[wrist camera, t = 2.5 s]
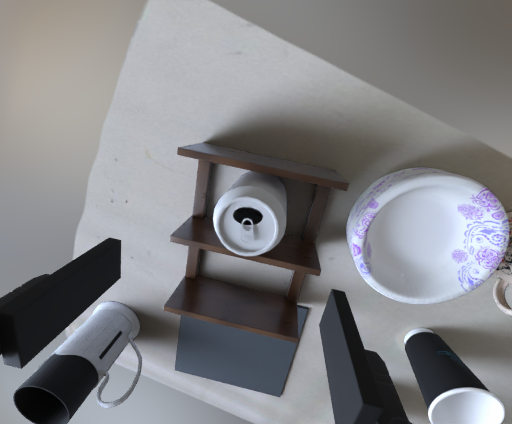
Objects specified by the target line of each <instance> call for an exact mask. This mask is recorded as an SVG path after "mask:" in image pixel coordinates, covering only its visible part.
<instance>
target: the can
mask: <svg viewBox="0 0 512 424" xmlns="http://www.w3.org/2000/svg"><path fill="white" fill-rule="evenodd" d="M286 218H287V195H286V190H285V187H284V185H283V183H282V182H281V181H280V180H279V178H278V177H277V176H274V175H269V174H265V173H260V172H255V171H250V172H248V173H246V174H244V175H242V176H241V177H240V178H239V179H238V180H237V181H236V182H235V183H234V184H233V185H232V186H231V188H230V189H229V190H228V191H227V192H226V193H225V194H224V195H223V196H222V197H221V198H220V199H219V201H218V203H217V205H216V207H215V209H214V216H213V222H214V228H215V231H216V233H217V235H218V237H219V239H220V241H221V243H222V244H223V245H224V246H225V247H226V248H227V249H228V250H230V251H232V252H234V253H236V254H238V255H243V256H257V255H260V254H262V253H265V252H268V251H270V250H271V249H272V248H274V247H275V246H276V245H277V244H278V243H279V242H280V240H281V239H282V237H283V236H284V232H285V228H286Z"/></svg>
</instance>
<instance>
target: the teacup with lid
mask: <svg viewBox="0 0 512 424" xmlns="http://www.w3.org/2000/svg"><path fill="white" fill-rule="evenodd" d="M506 214H507V217H508V222H509V242H508V246H507V249H506V252H505V255H504V257H503V259H502V261H501V262H500V264H499V266H498V267H497V269H496V270H495V271H494V272H493V273H494V274H496V275H497V276H499V278H498V279H497V281H496V282H495V284H494V287H493V297H494V300H495V302H496V304H497V306H498V307H499V308H500V309H501V310H502V311H503V312H505V313H506V314H508V315H511V316H512V309H511V308H510V307H509V305H508V304H507V302H506V299H505V290H506V287H507V286H508V284H510V285H511V286H512V212H509V213H506Z"/></svg>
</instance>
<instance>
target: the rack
mask: <svg viewBox="0 0 512 424" xmlns="http://www.w3.org/2000/svg"><path fill="white" fill-rule="evenodd" d="M177 154H178V155H181V156H185V157H190V158H195V159H199V162H198V171H197V180H196V188H195V197H194V206H193V214H192V216H191V217H190V218H189V219H188V220H187V221H186V222H184V223H183V224H182V225H181V226H180V227H179V228H178V229H177V230H176V231H175V232H174V233H173V234H172V235H170V242H174V243H179V244H183V245H187V246H189V249H188V258H187V266H186V275H185V277H184V278H183V279H182V281H181V282H180V284H179V285H178V287H177V288H176V290H175V291H174V293H173V294H172V295H171V297H170V298H169V300H168V301H167V303H166V304H165V306H164V311H167V312H171V313H175V314H179V315H184V316H188V317H192V318H196V319H200V320H204V321H208V322H212V323H216V324H220V325H224V326H228V327H232V328H236V329H240V330H244V331H248V332H252V333H257V334H261V335H265V336H269V337H273V338H277V339H281V340H285V341H289V342H293V343H298V341H299V328H298V308H297V299H298V296H299V293H300V289H301V286H302V283H303V279H304V276H305V273H308V274H312V275H316V276H320V273H321V268H320V263H319V259H318V255H317V250H316V246H315V239H316V236H317V232H318V229H319V226H320V222H321V219H322V216H323V212H324V209H325V206H326V202H327V199H328V195H329V192H330V189H331V188H335V189H339V190H344V191H347V188H348V185H349V184H348V183H347V182H346V181H345V180H344V179H343V178H342V177H341V176H340V175H339V174H338V173H337V172H336V171H334V170H329V169H325V168H320V167H315V166H310V165H305V164H301V163H296V162H291V161H286V160H282V159H277V158H272V157H267V156H263V155H258V154H253V153H248V152H244V151H239V150H234V149H230V148H225V147H220V146H215V145H211V144H206V143H199V144H194V145H188V146H183V147H178V153H177ZM212 163H218V164H223V165H227V166H232V167H237V168H241V169H246V170H251V171H255V172H260V173H265V174H269V175H274V176H279V177H283V178H288V179H293V180H297V181H302V182H307V183H311V184H316V185H317V187H316V191H315V194H314V198H313V202H312V205H311V209H310V212H309V216H308V220H307V223H306V227H305V230H304V234H303V237H302V238H298V237H294V236H289V235H285V234H284V236H283V237H282V239H281V240H280V242H279V243H278V244H277V245H276V246H275V247H274V248H272V249H271V250H270V251H268V252H265V253H262V254H260V255H257V256H243V255H238V254H236V253H234V252H232V251H230V250H228V249H227V248H226V247H225V246H224V245H223V244H222V243H221V241H220V239H219V237H218V235H217V233H216V231H215V228H214V222H213V218H209V217H205V215H206V208H207V200H208V193H209V185H210V178H211V170H212ZM201 249H204V250H209V251H213V252H217V253H222V254H226V255H230V256H235V257H239V258H243V259H248V260H252V261H256V262H260V263H265V264H269V265H273V266H278V267H282V268H286V269H291V270H293V273H292V277H291V280H290V284H289V288H288V291H287V295H286V297H284V296H280V295H276V294H272V293H267V292H263V291H259V290H255V289H251V288H246V287H242V286H238V285H234V284H230V283H225V282H221V281H217V280H213V279H209V278H204V277H200V276H197V275H198V267H199V260H200V252H201Z"/></svg>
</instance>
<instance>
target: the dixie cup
mask: <svg viewBox="0 0 512 424" xmlns="http://www.w3.org/2000/svg"><path fill="white" fill-rule="evenodd" d="M404 344H405V350H406V353H407V356H408V358H409V361H410V364H411V366H412V369H413V371H414V374H415V377H416V379H417V382H418V385H419V387H420V390H421V392H422V395H423V398H424V400H425V403H426V406H427V408H428V415H429V420H430V422H431V423H432V424H501V423H502V422H503V420H504V417H505V407H504V405H503V403H502V401H501V400H500V399H499V398H498V397H497V396H496V395H494V394H493V393H491V392H490V391H489V390H488V389H487V388H486V387H485V386H484V385H483V384H482V382H481V381H480V380H479V379H478V378H477V377H476V376H475V375H474V374H473V373H472V371H471V370H470V369H469V368H468V367H467V366H466V365H465V364H464V363H463V362H462V360H461V359H460V358H459V357H458V356H457V355H456V354H455V353H454V352H453V351H452V349H451V348H450V347H449V346H448V345H447V344H446V343H445V342H444V341H443V340H442V338H441V337H440V336H438V335H437V334H435V333H434V332H433V331H431V330H429V329H426V328H418V329H414V330H412V331H410V332H409V333H408V334H407V335H406V336H405V338H404Z"/></svg>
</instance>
